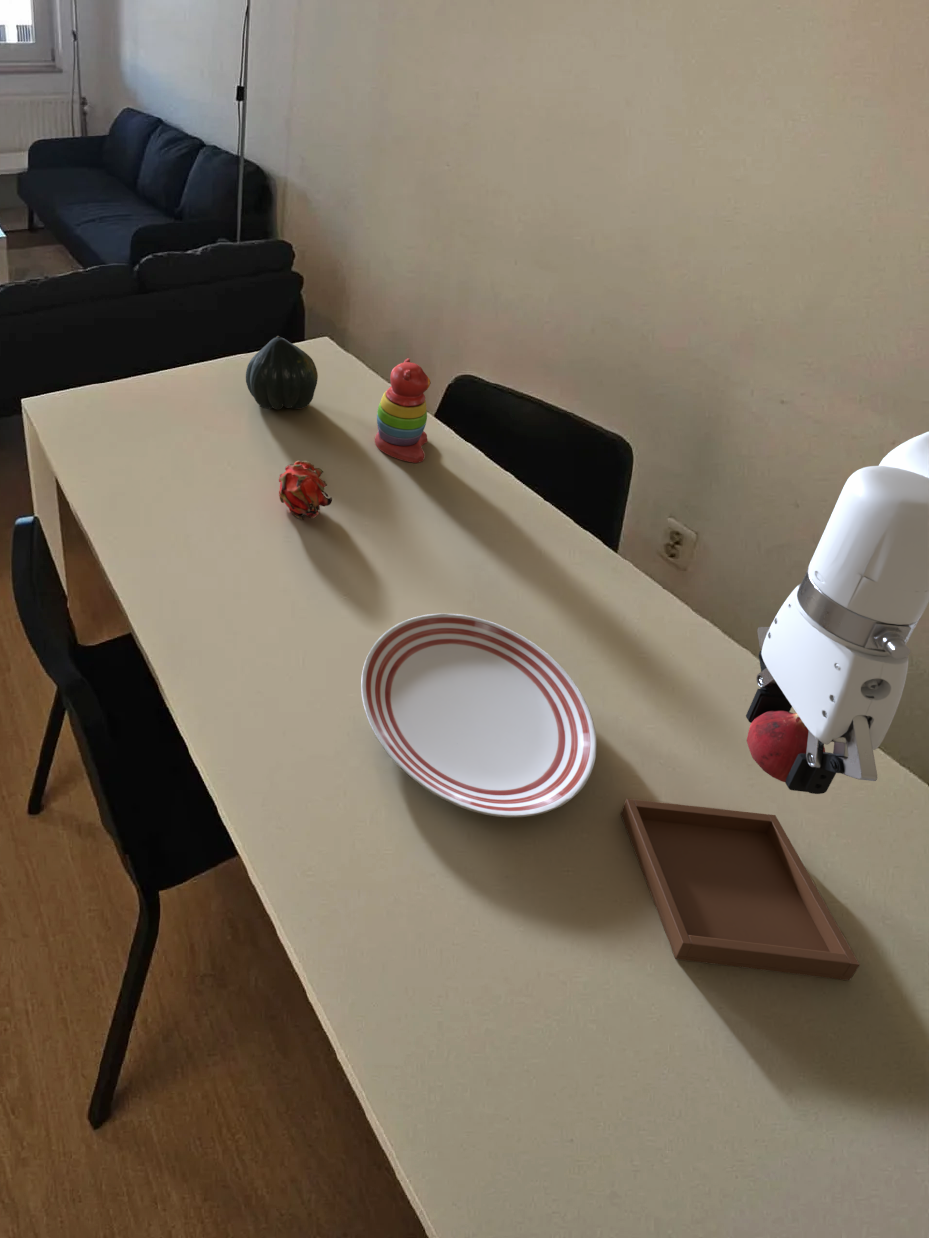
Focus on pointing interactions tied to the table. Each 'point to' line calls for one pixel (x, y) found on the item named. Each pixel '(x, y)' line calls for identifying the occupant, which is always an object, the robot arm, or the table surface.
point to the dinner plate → (478, 715)
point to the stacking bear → (403, 414)
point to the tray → (734, 891)
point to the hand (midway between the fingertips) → (783, 752)
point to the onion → (777, 742)
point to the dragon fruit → (303, 489)
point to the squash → (281, 376)
